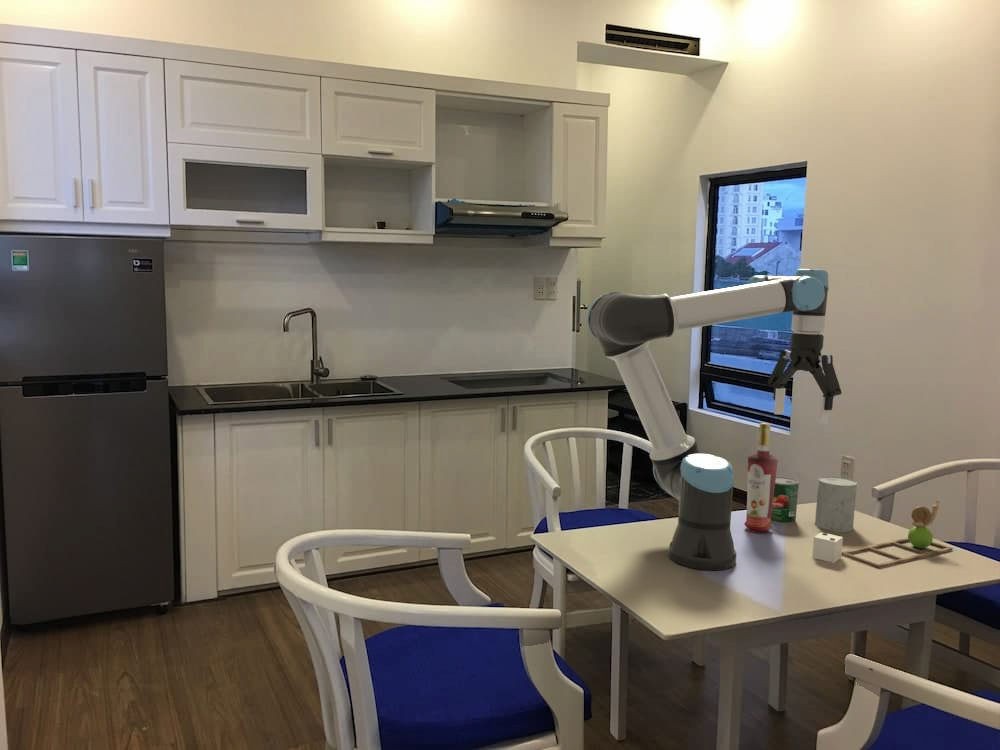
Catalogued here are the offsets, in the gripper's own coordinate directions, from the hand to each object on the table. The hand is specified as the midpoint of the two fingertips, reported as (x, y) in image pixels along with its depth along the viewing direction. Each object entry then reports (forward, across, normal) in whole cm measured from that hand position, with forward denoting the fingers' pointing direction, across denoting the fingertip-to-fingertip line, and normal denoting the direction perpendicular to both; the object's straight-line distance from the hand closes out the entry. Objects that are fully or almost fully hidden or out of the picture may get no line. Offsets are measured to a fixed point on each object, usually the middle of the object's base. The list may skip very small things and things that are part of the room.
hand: (800, 418), depth 200 cm
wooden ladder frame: (+30, -19, -15) cm, 39 cm away
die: (+30, -14, +4) cm, 34 cm away
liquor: (+31, +8, +3) cm, 32 cm away
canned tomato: (+31, +12, -10) cm, 34 cm away
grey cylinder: (+31, +2, -19) cm, 36 cm away
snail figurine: (+31, -19, -24) cm, 44 cm away
